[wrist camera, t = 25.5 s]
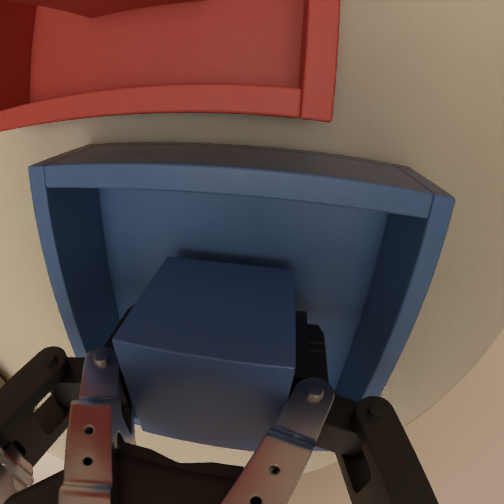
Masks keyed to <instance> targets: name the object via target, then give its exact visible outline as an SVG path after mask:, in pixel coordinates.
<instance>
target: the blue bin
mask: <svg viewBox="0 0 504 504" xmlns="http://www.w3.org/2000/svg"><path fill="white" fill-rule="evenodd" d="M28 169H29V177H30V185H31V192H32V199H33V205H34V211H35V217H36V222H37V227H38V232H39V237H40V242H41V246H42V250H43V255H44V259H45V263H46V267H47V271H48V274H49V278H50V282H51V285H52V289H53V292H54V295H55V299H56V302H57V305H58V308H59V311H60V314H61V317H62V320H63V323H64V326H65V329H66V332H67V335H68V337H69V340H70V343H71V345H72V348H73V350H74V353H75V356H76V357H86V355H87V353H88V352H90V351H91V350H92V349H94V348H97V347H103V346H104V345H105V344H106V342H107V340H108V339H109V337H110V336H111V334H112V333H113V331H114V329H115V328H116V326H117V325H118V324H119V322H120V320H121V319H122V318H123V316H124V314H125V313H126V311H127V310H128V308H130V307H131V306H132V305H134V304H135V303H136V302H137V300H138V299H139V297H140V296H141V294H142V293H143V291H144V290H145V288H146V287H147V285H148V284H149V282H150V281H151V279H152V278H153V276H154V275H155V273H156V272H157V270H158V269H159V268H160V266H161V265H162V263H163V262H164V260H165V259H166V258H167V257H168V256H169V257H178V258H187V259H196V260H205V261H214V262H223V263H232V264H242V265H251V266H261V267H270V268H280V269H290V270H294V271H295V310H297V311H306V312H307V324H315V325H319V327H320V328H321V330H322V331H323V333H324V338H325V347H326V357H327V367H328V378H329V384H330V385H331V387H332V388H333V390H334V391H335V392H336V393H337V394H338V395H340V396H342V397H344V398H347V399H350V400H354V401H357V402H359V401H360V400H361V399H363V398H365V397H368V396H378V397H379V396H380V394H381V393H382V391H383V389H384V387H385V385H386V383H387V381H388V379H389V377H390V375H391V373H392V371H393V369H394V367H395V365H396V363H397V361H398V359H399V357H400V355H401V353H402V351H403V348H404V346H405V344H406V342H407V340H408V337H409V335H410V333H411V331H412V328H413V326H414V324H415V321H416V319H417V316H418V314H419V311H420V309H421V306H422V304H423V301H424V299H425V296H426V294H427V291H428V288H429V285H430V283H431V280H432V277H433V274H434V271H435V268H436V265H437V262H438V259H439V256H440V253H441V250H442V247H443V243H444V240H445V237H446V233H447V230H448V226H449V223H450V219H451V215H452V211H453V207H454V203H455V198H454V197H453V196H451V195H450V194H448V193H447V192H446V191H444V190H443V189H441V188H440V187H438V186H437V185H435V184H434V183H432V182H431V181H429V180H428V179H426V178H425V177H423V176H422V175H420V174H419V173H417V172H415V171H414V170H413V169H411V168H409V167H405V166H400V165H395V164H389V163H384V162H378V161H372V160H366V159H360V158H354V157H347V156H340V155H333V154H325V153H317V152H309V151H300V150H290V149H280V148H269V147H257V146H243V145H226V144H204V143H111V144H90V145H86V146H83V147H80V148H77V149H74V150H71V151H68V152H65V153H62V154H60V155H57V156H54V157H52V158H49V159H46V160H44V161H41V162H38V163H36V164H33V165H31V166H29V167H28ZM134 424H137V425H140V422H139V420H138V417H137V414H136V412H135V409H134ZM313 450H314V451H329V450H326V449H322V448H319V447H316V446H315V447H314V449H313Z"/></svg>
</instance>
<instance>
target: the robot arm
mask: <svg viewBox="0 0 504 504" xmlns="http://www.w3.org/2000/svg"><path fill="white" fill-rule="evenodd" d="M134 305H135V304H134ZM134 305H132V306H131V307H130V308H128V310H127V311H126V313H125V314H124V316H123V318H122V319H121V320H120V322H119V324H118V325H117V326H116V328H115V329H114V331H113V333H112V334H111V336H110V337H109V339H108V340H107V342H106V344H105V345H104V346H103V347H97V348H94V349H92V350H91V351H90V352H88V353H87V355H86V357H67V355H66V353H65V351H64V350H63V349H62V348H60V347H55V346H52V347H47V348H45V349H43V350H41V351H40V352H39V353H38V354H37V355H36V356H35V357H33V358H32V359H31V360H30V361H29V362H28V363H27V364H26V365H25V366H23V367H22V368H21V369H20V370H19V371H18V372H17V373H16V374H15V375H14V376H13V377H12V378H10V379H9V380H8V381H7V382H6V383H5V384H4V385H3V386H2V387H1V388H0V504H287V502H288V500H289V499H290V497H291V495H292V493H293V491H294V489H295V487H296V485H297V483H298V481H299V479H300V477H301V475H302V473H303V471H304V469H305V466H306V464H307V462H308V460H309V458H310V456H311V454H312V451H313V449H314V447H315V446H316V447H319V448H322V449H326V450H329V451H332V452H335V454H336V457H337V460H338V463H339V466H340V468H341V471H342V475H343V477H344V481H345V483H346V487H347V490H348V493H349V495H350V499H351V501H352V504H438V502H437V499H436V497H435V495H434V492H433V490H432V488H431V486H430V483H429V481H428V479H427V477H426V475H425V473H424V470H423V468H422V466H421V464H420V462H419V460H418V458H417V455H416V453H415V451H414V449H413V447H412V445H411V443H410V441H409V439H408V437H407V435H406V433H405V430H404V428H403V426H402V424H401V422H400V420H399V418H398V416H397V414H396V412H395V410H394V408H393V407H392V405H391V404H390V403H389V402H388V401H387V400H386V399H384V398H382V397H378V396H368V397H365V398H363V399H361V400H360V401H359V402H357V401H354V400H350V399H347V398H344V397H342V396H340V395H338V394H337V393H336V392H335V391H334V390H333V388H332V387H331V385H330V384H329V378H328V367H327V357H326V347H325V338H324V333H323V331H322V330H321V328H320V327H319V325H315V324H307V312H306V311H297V310H295V324H296V368H295V372H294V377H293V381H292V385H291V389H290V393H289V397H288V401H287V403H286V405H285V406H284V408H283V410H282V412H281V414H280V415H279V417H278V419H277V421H276V423H275V424H274V426H273V427H272V428H270V429H269V430H268V431H267V432H266V434H265V436H264V437H263V439H262V441H261V442H260V444H259V446H258V447H257V449H256V450H255V452H254V454H253V455H252V457H251V459H250V460H249V462H248V463H247V465H246V466H245V468H244V467H241V466H234V465H226V464H220V463H213V462H210V463H178V462H175V461H173V460H171V459H169V458H167V457H165V456H163V455H161V454H159V453H157V452H155V451H153V450H151V449H148V448H144V447H140V446H137V445H136V442H135V432H134V406H133V404H132V401H131V398H130V395H129V392H128V390H127V387H126V384H125V381H124V378H123V375H122V371H121V368H120V365H119V362H118V359H117V355H116V352H115V349H114V345H113V342H112V339H113V337H114V336H115V334H116V332H117V331H118V329H119V328H120V326H121V325H122V323H123V322H124V320H125V318H126V317H127V315H128V314H129V312H130V311H131V309H132V308H133V306H134ZM49 392H51V394H52V395H51V396H50V397H49V398H48V399H47V400H46V401H45V402H44V403H43V404H42V405H41V406H40V407H39V408H38V409H37V410H36V411H35V412H34V413H33V410H34V408H35V406H36V405H37V404H38V403H39V402H40V401H41V400H42V399H43V398H44V397H45V396H46V395H47V394H48V393H49ZM67 427H68V429H67V438H66V450H65V464H64V470H62V471H60V472H58V473H56V474H54V475H52V476H50V477H48V478H46V479H44V480H42V481H40V482H38V483H36V484H34V485H32V484H33V482H34V479H33V476H32V475H33V470H32V469H33V466H34V465H35V464H36V463H37V462H38V461H39V459H40V458H41V457H42V456H43V455H44V454H45V452H46V451H47V450H48V449H49V448H50V447H51V446H52V444H53V443H54V442H55V441H56V440H57V439H58V438H59V436H60V435H61V434H62V433H63V432H64V431H65V429H66V428H67ZM30 485H31V486H30ZM28 486H29V487H28Z"/></svg>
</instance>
